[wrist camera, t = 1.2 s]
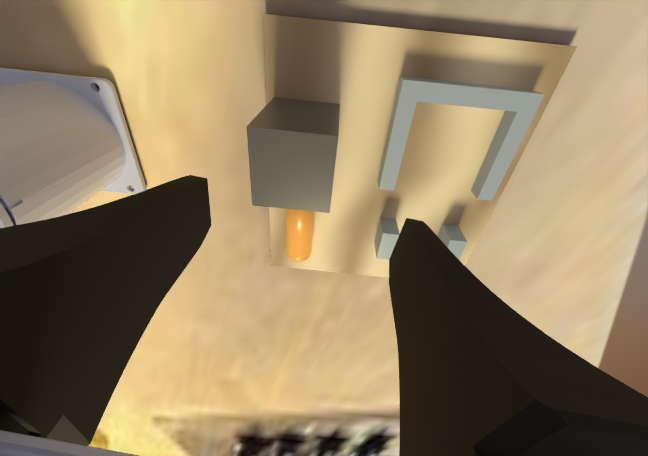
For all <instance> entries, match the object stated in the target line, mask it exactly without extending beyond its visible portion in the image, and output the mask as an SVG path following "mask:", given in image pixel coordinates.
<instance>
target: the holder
mask: <svg viewBox="0 0 648 456" xmlns="http://www.w3.org/2000/svg"><path fill="white" fill-rule="evenodd" d="M544 95H545V94H543V93H540V92H537V91H534V90H529V89H519V88H509V87H500V86H490V85H481V84H471V83H461V82H452V81H442V80H432V79H423V78H413V77H404V76H400V78H399V82H398V87H397V92H396V96H395V101H394V106H393V110H392V115H391V120H390V124H389V129H388V134H387V138H386V143H385V148H384V152H383V157H382V162H381V166H380V171H379V176H378V180H377V182H378V187H379V189H383V190H392V191H394V188H395V185H396V181H397V177H398V173H399V169H400V165H401V161H402V157H403V154H404V150H405V146H406V142H407V138H408V134H409V130H410V126H411V122H412V119H413V115H414V111H415V107H416V103H417V102H427V103H436V104H446V105H456V106H465V107H475V108H485V109H494V110H504V111H505V113H504V115H503V118H502V120H501V122H500V124H499V127H498V129H497V131H496V134H495V136H494V138H493V141H492V143H491V145H490V147H489V150H488V152H487V154H486V157H485V159H484V161H483V164H482V166H481V168H480V170H479V173H478V175H477V177H476V180H475V182H474V184H473V186H472V189H471V192H472V193H473V194H474V196H475V197H476V198H477V199H480V200H490V201H492V200H493V198H494V196H495V194H496V192H497V190H498V188H499V185H500V183H501V181H502V179H503V177H504V175H505V173H506V171H507V169H508V167H509V165H510V163H511V161H512V159H513V157H514V155H515V153H516V151H517V149H518V147H519V145H520V143H521V141H522V139H523V137H524V135H525V133H526V131H527V129H528V127H529V125H530V123H531V121H532V119H533V117H534V115H535V113H536V111H537V109H538V107H539V105H540V103H541V101H542V99H543V97H544Z"/></svg>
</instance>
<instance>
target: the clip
mask: <svg viewBox="0 0 648 456" xmlns="http://www.w3.org/2000/svg"><path fill="white" fill-rule="evenodd" d="M399 234H400V233H399V229H398V226H397V222H396V219H390V218H380V220H379V224H378V229H377V233H376V237H375V241H374V243H375V251H376V258H377V259H387V260H389V259H390V256H391V254H392V252H393V249H394V247H395V244H396V242H397V239H398V237H399ZM438 237H439V239H440V240H441V241H442V242H443V243H444V244H445V245H446V246H447V247H448V249H449V250H450V251H451V252H452V253H453V254H454V255H455V256H456V257H457V258H458V259H459V258H460V256H461V254H462V252H463V250H464V248H465V246H466V244H467V240H466V239H465V237H464V235H463V233H462V231H461V230H460V228H459V226H458V225H448V224H442V227H441V229H440V232H439V234H438Z"/></svg>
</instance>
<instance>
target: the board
mask: <svg viewBox="0 0 648 456" xmlns="http://www.w3.org/2000/svg"><path fill="white" fill-rule="evenodd" d="M263 26H264V57H265V88H266V105H267V104H268V103H269V102H270V101H271V100H272V99H273V98H274V97H278V98H288V99H297V100H307V101H317V102H326V103H336V104H340V115H339V136H338V145H337V154H336V162H335V171H334V180H333V188H332V197H331V206H330V213H323V212H314V223H313V236H312V249H311V255H310V257H309V258H308V259H307V260H306V261H304V262H299V263H298V262H294V261H292V260H291V259H290V258H289V257H288V255H287V252H286V231H287V209H284V208H274V207H269V211H270V242H271V266H281V267H291V268H301V269H311V270H320V271H330V272H340V273H350V274H360V275H370V276H380V277H389V260H387V259H377V258H376V251H375V243H374V241H375V237H376V233H377V229H378V224H379V220H380V218H390V219H396V222H397V226H398V229H399V233H400V232H401V230H402V227H403V225H404V222H405V220H406V218H410V219H415V220H420V221H423V222H425V223H426V224H427V225H428V226H429V227H430V229H431V230H432V231H433V232H434V233H435V234H436V235H437V236H438V234H439V232H440V229H441V227H442V224H448V225H458V226H459V228H460V230H461V231H462V233H463V235H464V237H465V239H466V240H467V244H466V246H465V248H464V250H463V252H462V254H461V256H460V258H459V260H460V262H461V263H462V264H463V265H464V266H465V265H466V263H467V261H468V259H469V257H470V255H471V253H472V251H473V249H474V247H475V245H476V243H477V241H478V239H479V237H480V235H481V233H482V231H483V229H484V228H485V226H486V224H487V222H488V220H489V218H490V216H491V214H492V212H493V210H494V208H495V206H496V204H497V202H498V200H499V198H500V196H501V194H502V192H503V190H504V188H505V186H506V185H507V183H508V181H509V179H510V177H511V175H512V173H513V171H514V169H515V167H516V165H517V163H518V161H519V159H520V157H521V155H522V153H523V151H524V149H525V147H526V145H527V143H528V141H529V140H530V138H531V136H532V134H533V132H534V130H535V128H536V126H537V124H538V122H539V120H540V118H541V116H542V114H543V112H544V110H545V108H546V106H547V104H548V102H549V100H550V98H551V97H552V95H553V93H554V91H555V89H556V87H557V85H558V83H559V81H560V79H561V77H562V75H563V73H564V71H565V69H566V67H567V65H568V63H569V61H570V59H571V57H572V55H573V53H574V52H575V50H576V48H577V46H567V45H558V44H548V43H538V42H529V41H519V40H510V39H500V38H491V37H481V36H471V35H462V34H452V33H443V32H433V31H424V30H414V29H405V28H395V27H385V26H376V25H366V24H357V23H347V22H338V21H328V20H318V19H309V18H299V17H290V16H280V15H271V14H263ZM400 76H404V77H413V78H423V79H432V80H442V81H452V82H461V83H471V84H481V85H490V86H500V87H509V88H519V89H529V90H534V91H537V92H540V93H543V94H545V95H544V97H543V99H542V101H541V103H540V105H539V107H538V109H537V111H536V113H535V115H534V117H533V119H532V121H531V123H530V125H529V127H528V129H527V131H526V133H525V135H524V137H523V139H522V141H521V143H520V145H519V147H518V149H517V151H516V153H515V155H514V157H513V159H512V161H511V163H510V165H509V167H508V169H507V171H506V173H505V175H504V177H503V179H502V181H501V183H500V185H499V188H498V190H497V192H496V194H495V196H494V198H493V200H492V201H490V200H480V199H477V198H476V197H475V196H474V194H473V193H472V192H471V189H472V186H473V184H474V182H475V180H476V177H477V175H478V173H479V170H480V168H481V166H482V164H483V161H484V159H485V157H486V154H487V152H488V150H489V147H490V145H491V143H492V141H493V138H494V136H495V134H496V131H497V129H498V127H499V124H500V122H501V120H502V118H503V115H504V113H505V111H504V110H494V109H485V108H475V107H465V106H456V105H446V104H436V103H427V102H417V103H416V107H415V111H414V115H413V119H412V122H411V126H410V130H409V134H408V138H407V142H406V146H405V150H404V154H403V157H402V161H401V165H400V169H399V173H398V177H397V181H396V185H395V188H394V191H392V190H383V189H379V187H378V182H377V180H378V176H379V171H380V166H381V162H382V157H383V152H384V148H385V143H386V138H387V134H388V129H389V124H390V120H391V115H392V110H393V106H394V101H395V96H396V92H397V87H398V82H399V78H400Z"/></svg>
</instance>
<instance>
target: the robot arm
mask: <svg viewBox="0 0 648 456" xmlns="http://www.w3.org/2000/svg"><path fill="white" fill-rule="evenodd" d="M95 83H96V84H97V85H98V86H99V88H100V90H98V89H97V88H96V86H95ZM131 186H132V187H133V188H134V189H133V188H131ZM101 191H107V192H116V193H126V194H134V195H131V196H128V197H125V198H122V199H119V200H116V201H113V202H110V203H107V204H104V205H101V206H97V207H94V208H90V209H87V210H83V211H79V212H75V213H71V212H72V211H74V210H75V209H76V208H78V207H79V206H81V205H82V204H84V203H85V202H86V201H88V200H89V199H91V198H92V197H94V196H95V195H96V194H98V193H99V192H101ZM69 213H71V214H69ZM210 226H211V217H210V205H209V194H208V182H207V178H202V177H197V176H192V175H189V176H185V177H182V178H179V179H176V180H173V181H170V182H167V183H164V184H162V185H159V186H156V187H153V188H151V189H148V190H147V188H146V185H145V181H144V178H143V175H142V172H141V169H140V165H139V162H138V159H137V156H136V153H135V150H134V146H133V143H132V140H131V137H130V134H129V130H128V127H127V124H126V121H125V118H124V114H123V111H122V108H121V105H120V102H119V99H118V95H117V92H116V89H115V87H114V85H113V83H112V82H111V81H109V80H108V79H105V78H98V77H88V76H78V75H69V74H59V73H49V72H40V71H30V70H20V69H11V68H1V67H0V456H139V455H133V454H128V453H122V452H117V451H111V450H106V449H100V448H95V447H89V446H88V445H89V444H90V443H91V441H92V438H93V436H94V434H95V431H96V429H97V427H98V425H99V422H100V420H101V418H102V416H103V413H104V411H105V409H106V407H107V405H108V402H109V400H110V398H111V396H112V394H113V392H114V389H115V387H116V385H117V383H118V381H119V379H120V377H121V375H122V373H123V371H124V369H125V367H126V365H127V363H128V361H129V359H130V357H131V355H132V353H133V351H134V350H135V348H136V346H137V344H138V342H139V340H140V338H141V336H142V334H143V333H144V331H145V329H146V327H147V325H148V324H149V322H150V320H151V318H152V317H153V315H154V313H155V311H156V310H157V308H158V306H159V305H160V303H161V301H162V300H163V298H164V297H165V295H166V294H167V293H168V291H169V290H170V288H171V287H172V286H173V284H174V283H175V281H176V280H177V279H178V277H179V276H180V275H181V273H182V272H183V270H184V269H185V268H186V266H187V265H188V263H189V262H190V261H191V259H192V258H193V256H194V255H195V254H196V252H197V251H198V249H199V248H200V246H201V244H202V242H203V240H204V239H205V237H206V235H207V233H208V231H209V228H210ZM389 286H390V293H391V301H392V307H393V314H394V321H395V328H396V335H397V343H398V354H399V382H400V456H648V397H646V396H644V395H643V394H641V393H639V392H637V391H636V390H634V389H632V388H631V387H629V386H627V385H625V384H624V383H622V382H620V381H619V380H617V379H615V378H613V377H612V376H610V375H608V374H607V373H605V372H603V371H601V370H600V369H598V368H597V367H595V366H593V365H592V364H590V363H589V362H587V361H586V360H584V359H582V358H581V357H579V356H578V355H576V354H575V353H573V352H572V351H570V350H569V349H567V348H565V347H564V346H562V345H561V344H560V343H558V342H557V341H555V340H554V339H552V338H551V337H549V336H548V335H546V334H545V333H544V332H542V331H541V330H540V329H538V328H537V327H535V326H534V325H533V324H531V323H530V322H529V321H527V320H526V319H525V318H523V317H522V316H521V315H519V314H518V313H517V312H516V311H514V310H513V309H512V308H510V307H509V306H508V305H507V304H506V303H505V302H503V301H502V300H501V299H500V298H499V297H497V296H496V295H495V294H494V293H493V292H492V291H490V290H489V289H488V288H487V287H486V286H485V285H484V284H483V283H482V282H481V281H480V280H479V279H477V278H476V277H475V276H474V275H473V274H472V273H471V272H470V271H469V270H468V269H467V268H466V267H465V266H464V265H463V264H462V263H461V262H460V260H459V259H458V258H457V257H456V256H455V255H454V254H453V253H452V252H451V251H450V250H449V249H448V247H447V246H446V245H445V244H444V243H443V242H442V241H441V240H440V239H439V237H438V236H437V235H436V234H435V233H434V232H433V231H432V230H431V229H430V227H429V226H428V225H427V224H426V223H425V222H423V221H420V220H415V219H410V218H406V220H405V222H404V225H403V227H402V230H401V232H400V234H399V237H398V239H397V242H396V244H395V247H394V249H393V252H392V254H391V256H390V259H389Z"/></svg>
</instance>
